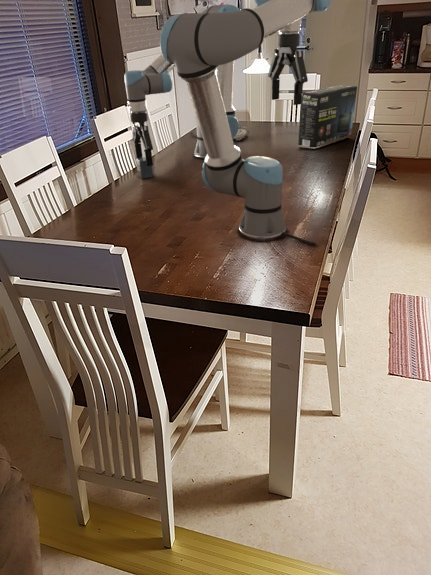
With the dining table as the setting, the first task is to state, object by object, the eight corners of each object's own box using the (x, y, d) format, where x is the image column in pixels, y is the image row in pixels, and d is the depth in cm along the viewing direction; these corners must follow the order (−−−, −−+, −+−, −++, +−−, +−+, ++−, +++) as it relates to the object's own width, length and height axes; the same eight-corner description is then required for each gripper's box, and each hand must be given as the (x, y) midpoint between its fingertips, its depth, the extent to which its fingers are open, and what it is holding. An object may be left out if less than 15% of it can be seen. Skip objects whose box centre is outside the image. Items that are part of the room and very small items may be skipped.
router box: (314, 151, 231) (318, 94, 217) (296, 148, 237) (299, 92, 224) (352, 138, 251) (358, 85, 238) (335, 135, 258) (340, 83, 245)
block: (149, 173, 209) (147, 156, 205) (153, 176, 205) (151, 159, 201) (138, 175, 207) (135, 158, 203) (141, 178, 203) (139, 161, 199)
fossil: (240, 135, 249) (222, 118, 252) (230, 152, 256) (212, 134, 259) (256, 134, 263) (238, 117, 266) (246, 150, 269) (228, 133, 272)
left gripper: (120, 108, 200) (127, 157, 211) (139, 117, 181) (145, 170, 192) (137, 106, 203) (143, 154, 214) (157, 115, 183) (162, 167, 194)
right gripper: (259, 33, 159) (258, 98, 170) (302, 34, 140) (298, 108, 151) (277, 31, 162) (275, 96, 173) (321, 33, 142) (316, 105, 153)
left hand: (144, 162), depth 203 cm, fingers open, 13 cm apart
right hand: (286, 102), depth 162 cm, fingers open, 13 cm apart
